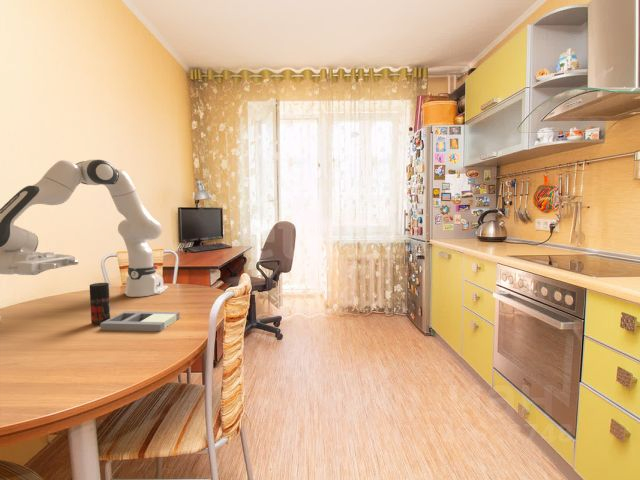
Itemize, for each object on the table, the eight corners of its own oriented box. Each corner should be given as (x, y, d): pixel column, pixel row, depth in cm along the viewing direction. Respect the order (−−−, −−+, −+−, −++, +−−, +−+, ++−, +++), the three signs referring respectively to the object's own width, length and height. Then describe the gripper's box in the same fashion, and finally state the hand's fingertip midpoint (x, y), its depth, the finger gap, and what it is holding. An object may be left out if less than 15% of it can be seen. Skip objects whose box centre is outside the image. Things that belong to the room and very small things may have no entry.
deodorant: (89, 323, 120) (87, 284, 119) (108, 319, 124) (106, 281, 123) (93, 327, 116) (91, 286, 115) (112, 322, 120) (110, 284, 119)
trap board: (125, 317, 127) (125, 311, 127) (179, 318, 126) (179, 312, 126) (100, 330, 113) (100, 323, 113) (160, 331, 112) (160, 324, 112)
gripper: (2, 258, 108) (41, 259, 108) (53, 252, 129) (87, 252, 128) (3, 276, 109) (42, 277, 109) (54, 267, 129) (87, 268, 129)
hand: (67, 264), depth 119 cm, fingers open, 8 cm apart
